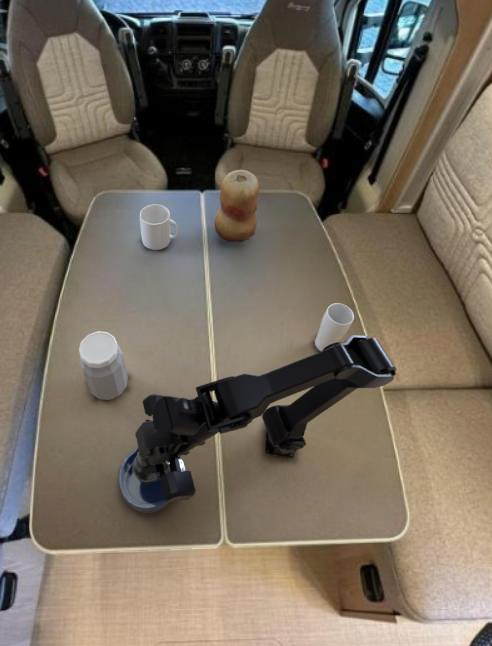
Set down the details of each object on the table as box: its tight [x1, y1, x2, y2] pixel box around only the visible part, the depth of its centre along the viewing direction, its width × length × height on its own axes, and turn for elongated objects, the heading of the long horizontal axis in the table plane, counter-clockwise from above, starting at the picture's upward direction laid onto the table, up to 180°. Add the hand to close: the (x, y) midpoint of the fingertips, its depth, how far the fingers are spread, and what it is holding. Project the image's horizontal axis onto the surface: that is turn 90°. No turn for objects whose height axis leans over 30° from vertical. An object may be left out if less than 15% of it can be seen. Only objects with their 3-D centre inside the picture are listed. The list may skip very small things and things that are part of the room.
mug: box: [139, 203, 180, 251], centre depth 133 cm, size 10×12×12 cm
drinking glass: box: [314, 302, 355, 352], centre depth 108 cm, size 7×7×15 cm
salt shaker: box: [132, 452, 158, 485], centre depth 81 cm, size 6×6×12 cm
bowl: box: [118, 448, 171, 514], centre depth 88 cm, size 12×12×6 cm
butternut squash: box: [213, 169, 260, 243], centre depth 130 cm, size 14×13×25 cm
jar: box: [78, 331, 129, 401], centre depth 97 cm, size 10×10×18 cm
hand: (139, 463), depth 80 cm, fingers closed on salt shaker, 3 cm apart
